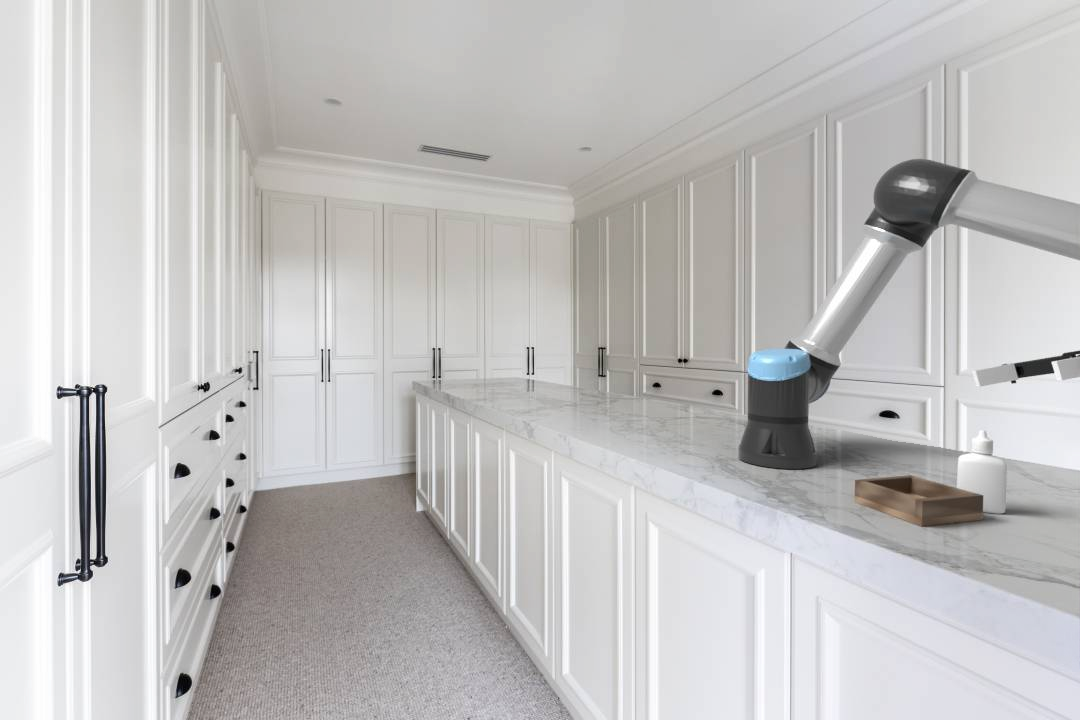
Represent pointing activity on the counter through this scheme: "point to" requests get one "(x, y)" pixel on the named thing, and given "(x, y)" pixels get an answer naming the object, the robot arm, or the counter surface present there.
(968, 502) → the walnut socket block
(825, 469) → the counter surface
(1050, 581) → the counter surface
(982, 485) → the eye dropper bottle
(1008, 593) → the counter surface
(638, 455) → the counter surface
